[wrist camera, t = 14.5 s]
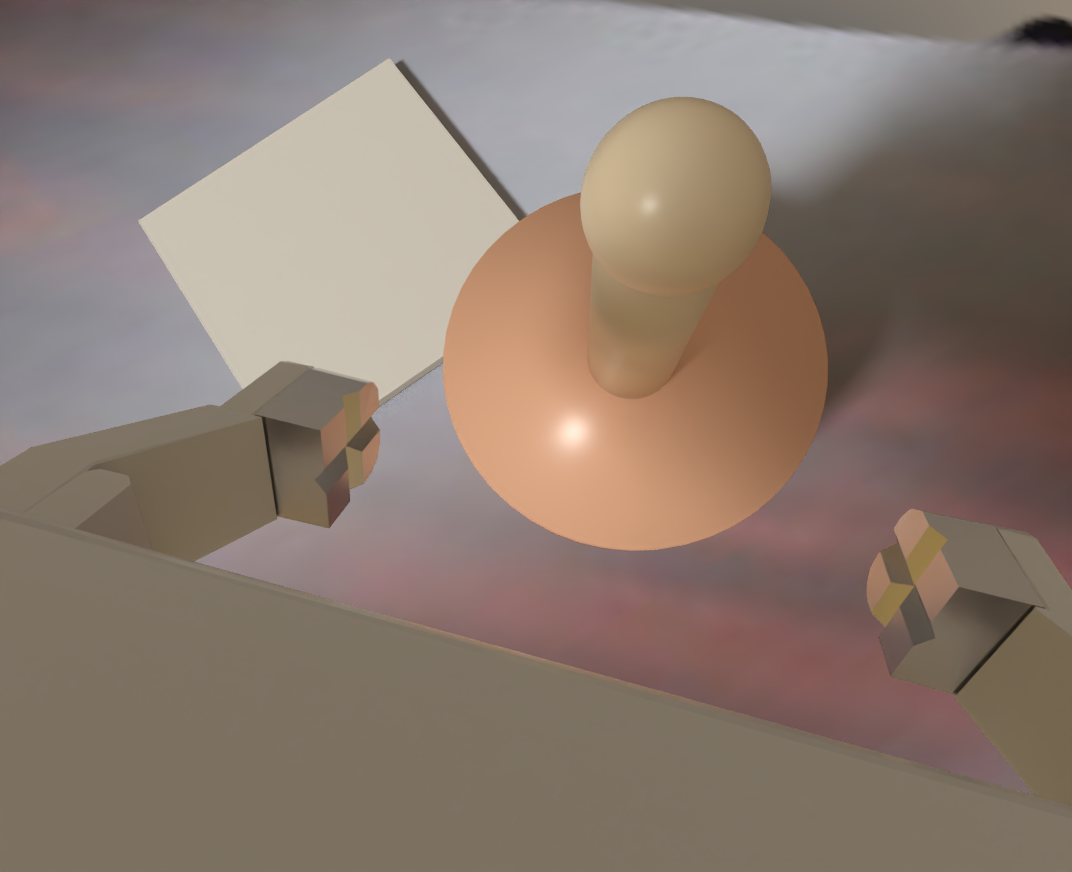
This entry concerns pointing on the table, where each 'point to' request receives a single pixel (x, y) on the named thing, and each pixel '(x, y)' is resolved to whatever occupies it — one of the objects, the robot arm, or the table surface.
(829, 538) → the table surface
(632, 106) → the table surface
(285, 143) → the mat
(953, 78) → the table surface
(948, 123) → the table surface
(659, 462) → the salmon dome
